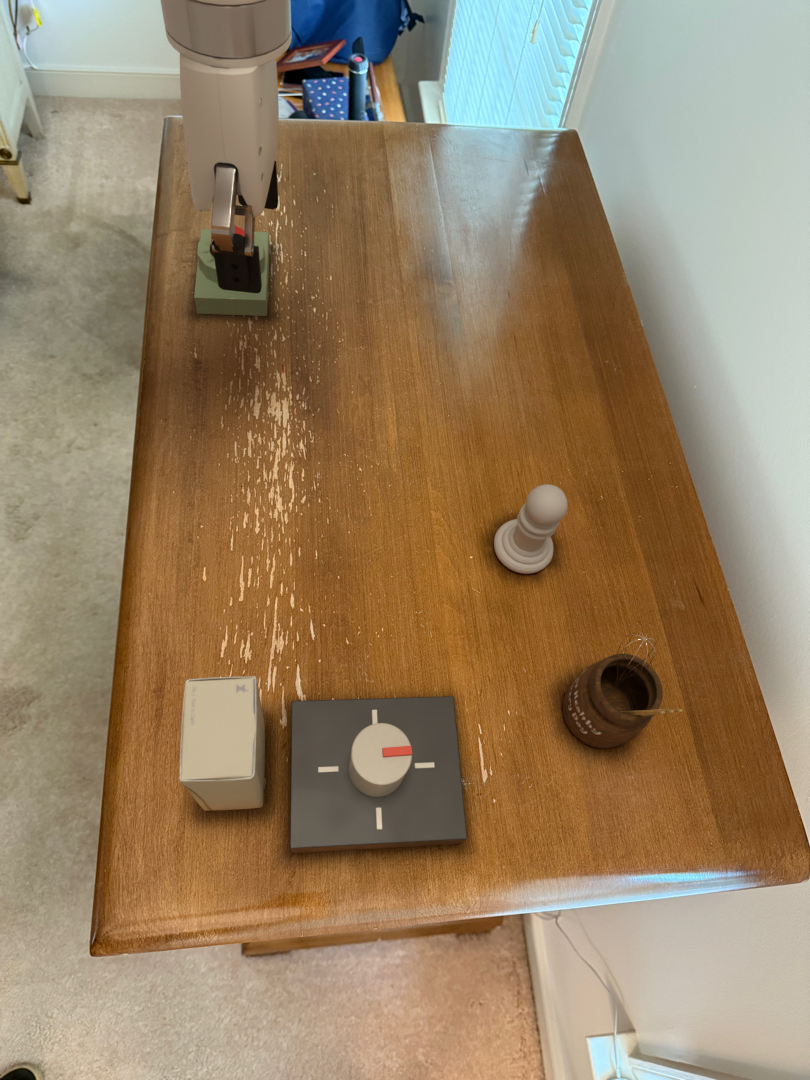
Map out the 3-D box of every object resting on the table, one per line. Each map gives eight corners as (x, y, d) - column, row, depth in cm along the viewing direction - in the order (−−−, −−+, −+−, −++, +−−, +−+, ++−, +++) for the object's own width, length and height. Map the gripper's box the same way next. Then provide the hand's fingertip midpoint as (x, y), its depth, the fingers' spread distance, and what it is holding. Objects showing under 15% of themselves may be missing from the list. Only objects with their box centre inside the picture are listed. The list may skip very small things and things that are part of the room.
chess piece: (537, 516, 67) (566, 460, 59) (561, 567, 65) (595, 515, 57) (483, 530, 66) (506, 474, 58) (506, 582, 63) (533, 531, 56)
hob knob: (350, 799, 51) (353, 786, 46) (346, 741, 53) (349, 723, 48) (407, 794, 51) (415, 781, 47) (402, 736, 53) (409, 719, 49)
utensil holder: (621, 673, 61) (685, 616, 50) (642, 750, 58) (715, 707, 47) (552, 680, 60) (603, 624, 49) (571, 759, 57) (629, 717, 46)
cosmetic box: (207, 726, 55) (182, 674, 44) (268, 723, 56) (257, 671, 45) (203, 815, 52) (174, 782, 41) (266, 811, 53) (255, 778, 42)
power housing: (196, 314, 74) (191, 283, 71) (203, 245, 79) (198, 213, 76) (267, 316, 75) (264, 285, 72) (269, 248, 80) (267, 217, 76)
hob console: (291, 853, 51) (289, 848, 49) (292, 712, 56) (291, 700, 53) (459, 844, 53) (467, 838, 50) (447, 707, 58) (454, 695, 55)
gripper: (190, -72, 48) (220, 171, 62) (129, 82, 39) (181, 319, 54) (306, -55, 48) (309, 182, 63) (271, 101, 40) (283, 330, 55)
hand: (250, 245), depth 59 cm, fingers open, 9 cm apart
